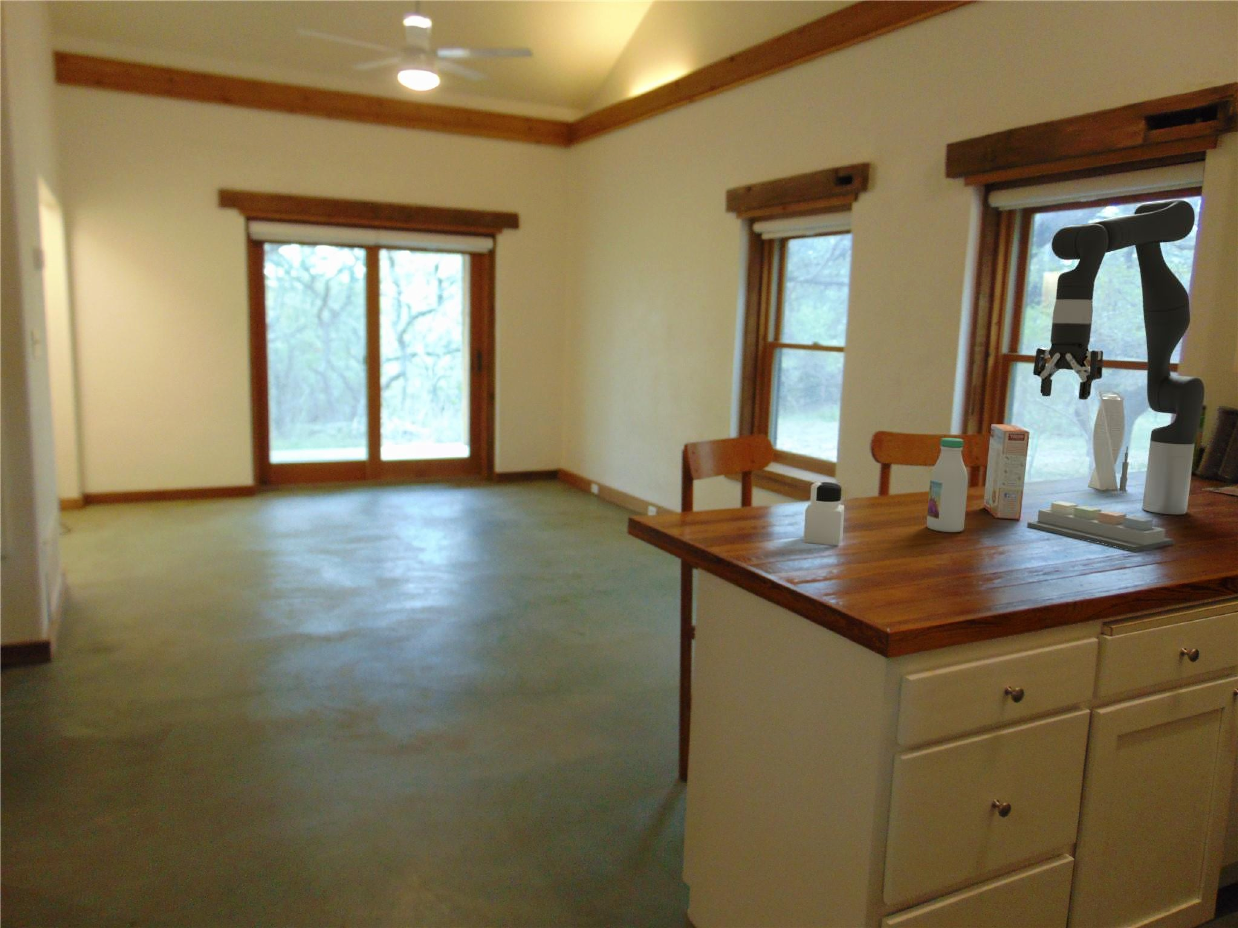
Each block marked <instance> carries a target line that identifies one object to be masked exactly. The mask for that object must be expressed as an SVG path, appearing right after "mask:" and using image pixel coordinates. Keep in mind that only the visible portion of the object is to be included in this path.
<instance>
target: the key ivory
mask: <svg viewBox="0 0 1238 928" xmlns="http://www.w3.org/2000/svg"><path fill="white" fill-rule="evenodd" d="M1078 505H1079V504H1078V503H1072V502H1068V501H1064V500H1063V501H1062V500H1059V501H1055V502H1054V501H1053V502H1051V504H1050V508H1051V511H1050V512H1055V513H1060V514H1064V515H1068V514H1074V507H1079V506H1078Z"/></svg>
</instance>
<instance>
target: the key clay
mask: <svg viewBox="0 0 1238 928" xmlns="http://www.w3.org/2000/svg"><path fill="white" fill-rule="evenodd" d="M1124 517H1127V513H1124V512H1117V511H1112V510H1105V511H1101V512H1099V514H1098V522H1102V523H1107V524H1111V525H1120V524H1123V523H1124Z"/></svg>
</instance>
